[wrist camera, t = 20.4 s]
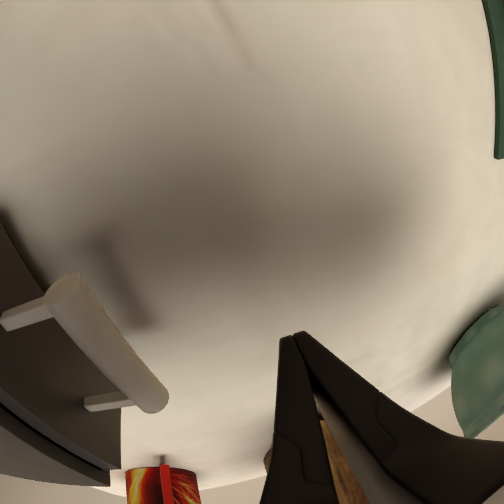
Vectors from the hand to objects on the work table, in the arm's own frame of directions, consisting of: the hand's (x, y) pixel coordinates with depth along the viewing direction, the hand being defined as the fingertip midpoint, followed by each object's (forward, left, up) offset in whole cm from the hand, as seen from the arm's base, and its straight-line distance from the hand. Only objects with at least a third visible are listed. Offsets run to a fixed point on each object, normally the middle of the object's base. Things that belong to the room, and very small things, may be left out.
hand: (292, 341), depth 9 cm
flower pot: (+22, +23, -6) cm, 32 cm away
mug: (+28, -20, -6) cm, 34 cm away
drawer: (0, -15, -5) cm, 15 cm away
